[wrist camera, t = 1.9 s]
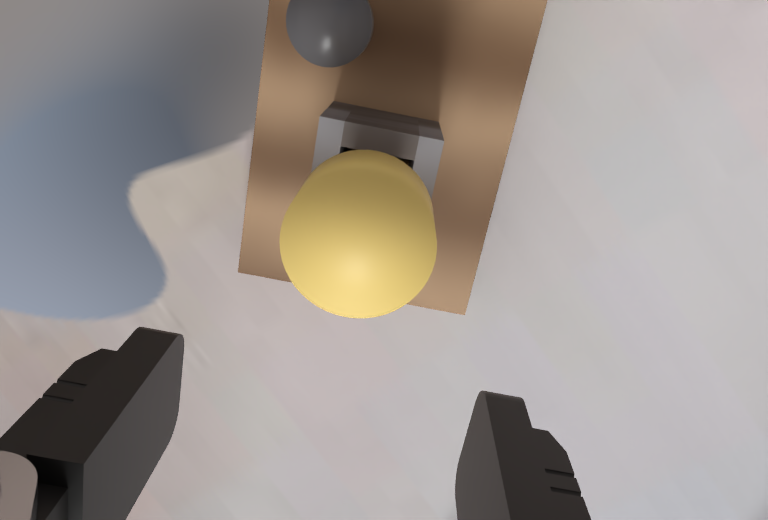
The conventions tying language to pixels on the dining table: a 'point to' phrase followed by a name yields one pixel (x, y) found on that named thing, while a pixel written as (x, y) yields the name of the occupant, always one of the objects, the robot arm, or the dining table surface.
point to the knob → (360, 235)
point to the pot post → (329, 29)
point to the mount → (397, 122)
